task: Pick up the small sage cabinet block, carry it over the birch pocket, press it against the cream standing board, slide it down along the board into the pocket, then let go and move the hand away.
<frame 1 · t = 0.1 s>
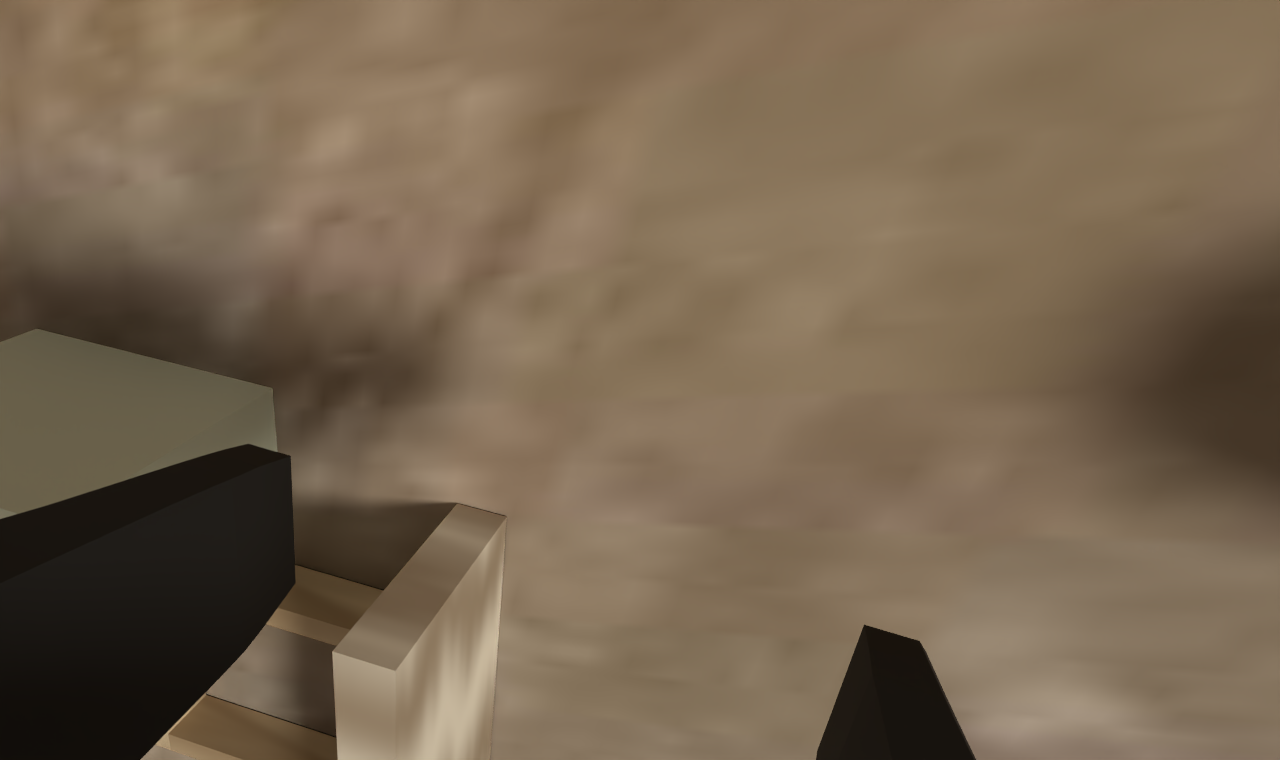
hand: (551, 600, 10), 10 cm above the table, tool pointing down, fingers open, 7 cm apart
wall board: (346, 674, 27), on the table
cabinet block: (162, 422, 24), on the table
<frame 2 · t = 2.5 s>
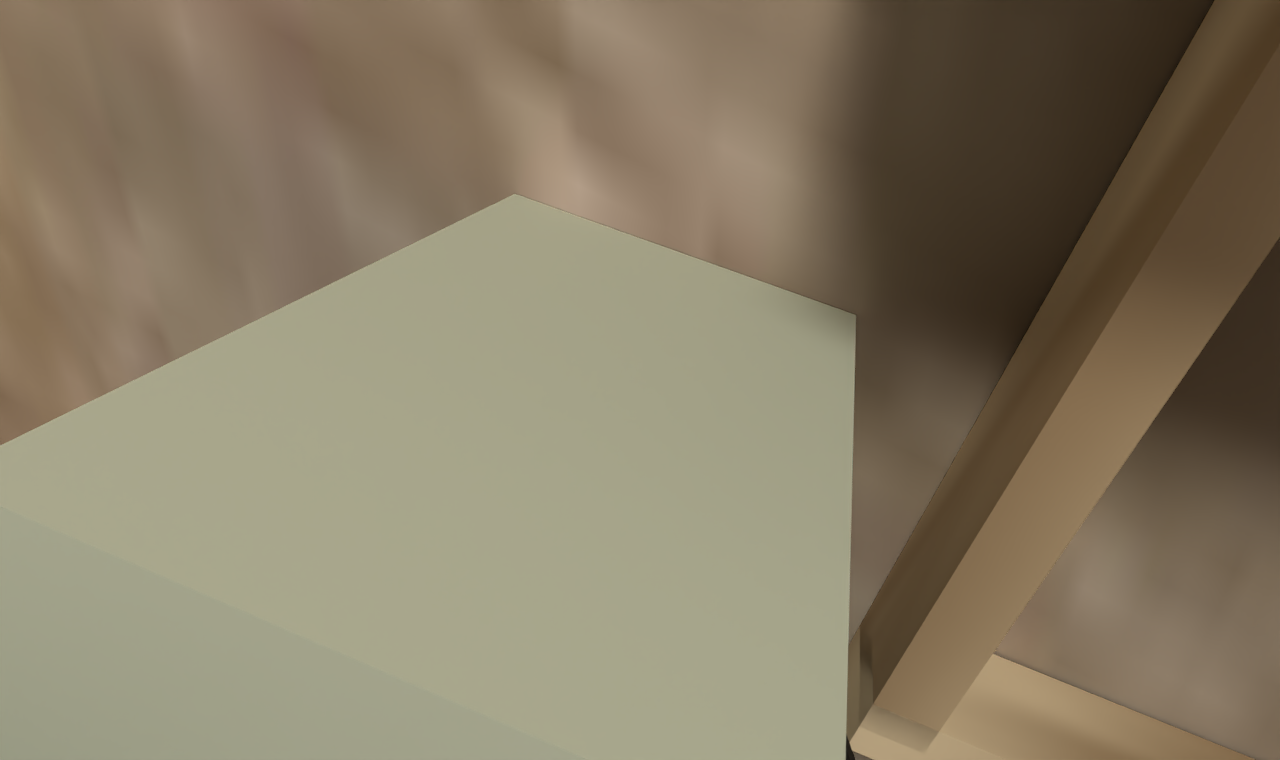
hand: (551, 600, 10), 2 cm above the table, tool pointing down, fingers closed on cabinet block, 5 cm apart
cabinet block: (600, 510, 11), on the table, touching gripper
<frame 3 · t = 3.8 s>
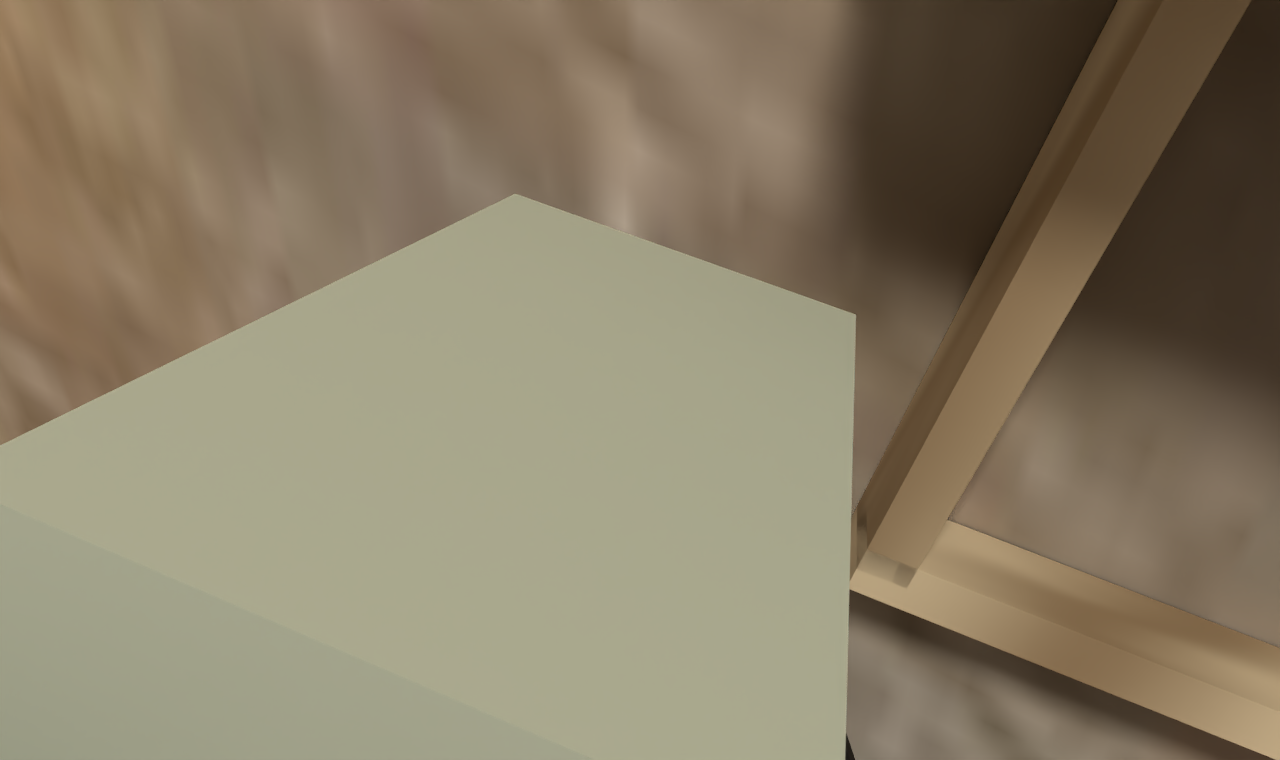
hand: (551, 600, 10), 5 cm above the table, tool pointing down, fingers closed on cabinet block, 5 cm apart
cabinet block: (600, 509, 12), point 3 cm above the table, touching gripper
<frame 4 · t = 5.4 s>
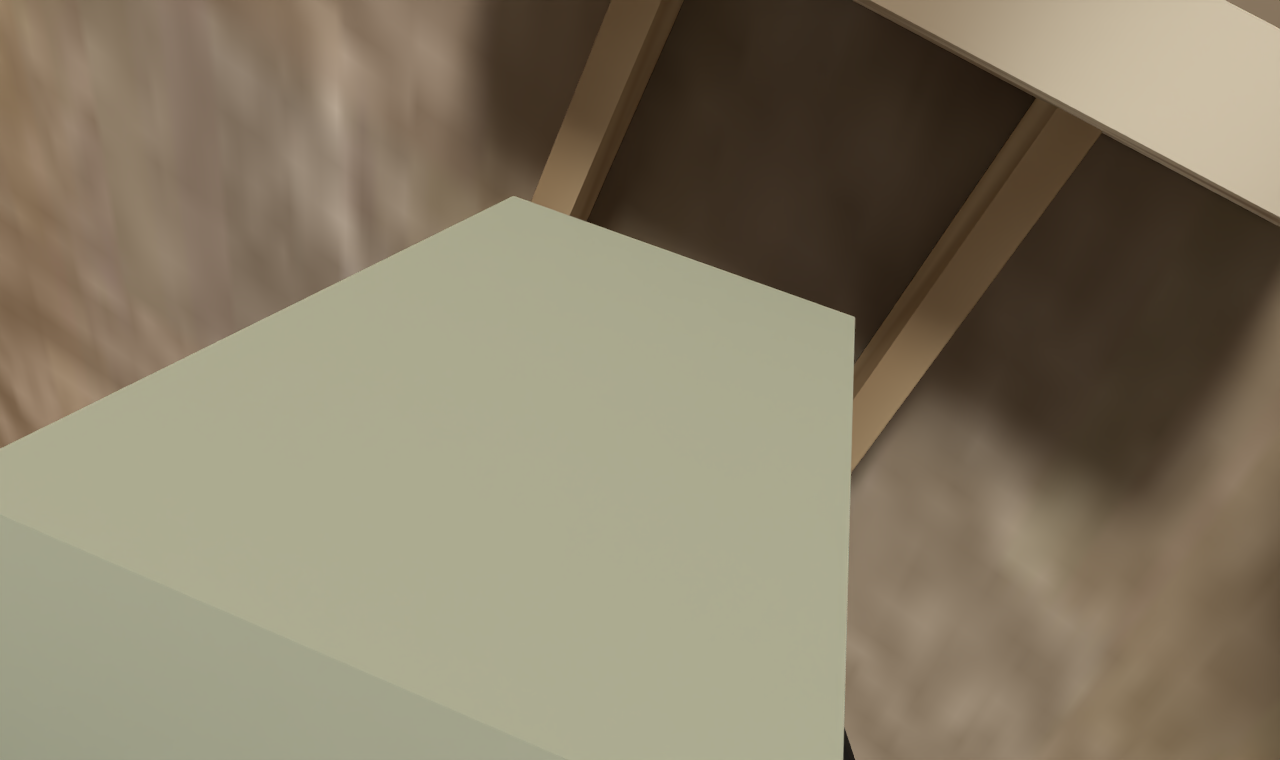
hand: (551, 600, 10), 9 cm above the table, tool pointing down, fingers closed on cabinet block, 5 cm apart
wall board: (772, 197, 16), on the table
cabinet block: (599, 512, 11), point 7 cm above the table, touching gripper
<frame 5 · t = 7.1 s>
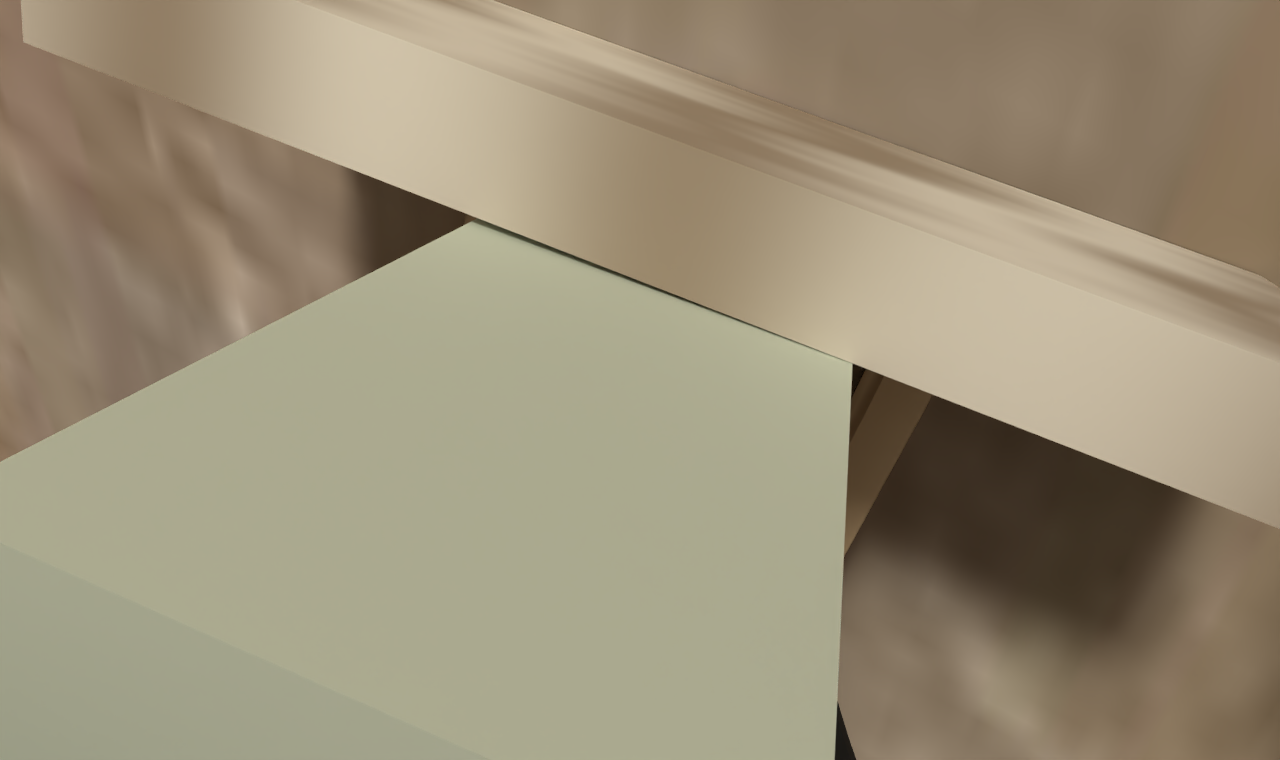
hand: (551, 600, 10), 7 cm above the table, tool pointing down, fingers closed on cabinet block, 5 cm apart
wall board: (674, 372, 16), on the table
cabinet block: (597, 516, 11), point 5 cm above the table, touching gripper, wall board
when the fingers open (3 cm above the table, at t = 8.3 s): cabinet block drops 1 cm, resting in wall board.
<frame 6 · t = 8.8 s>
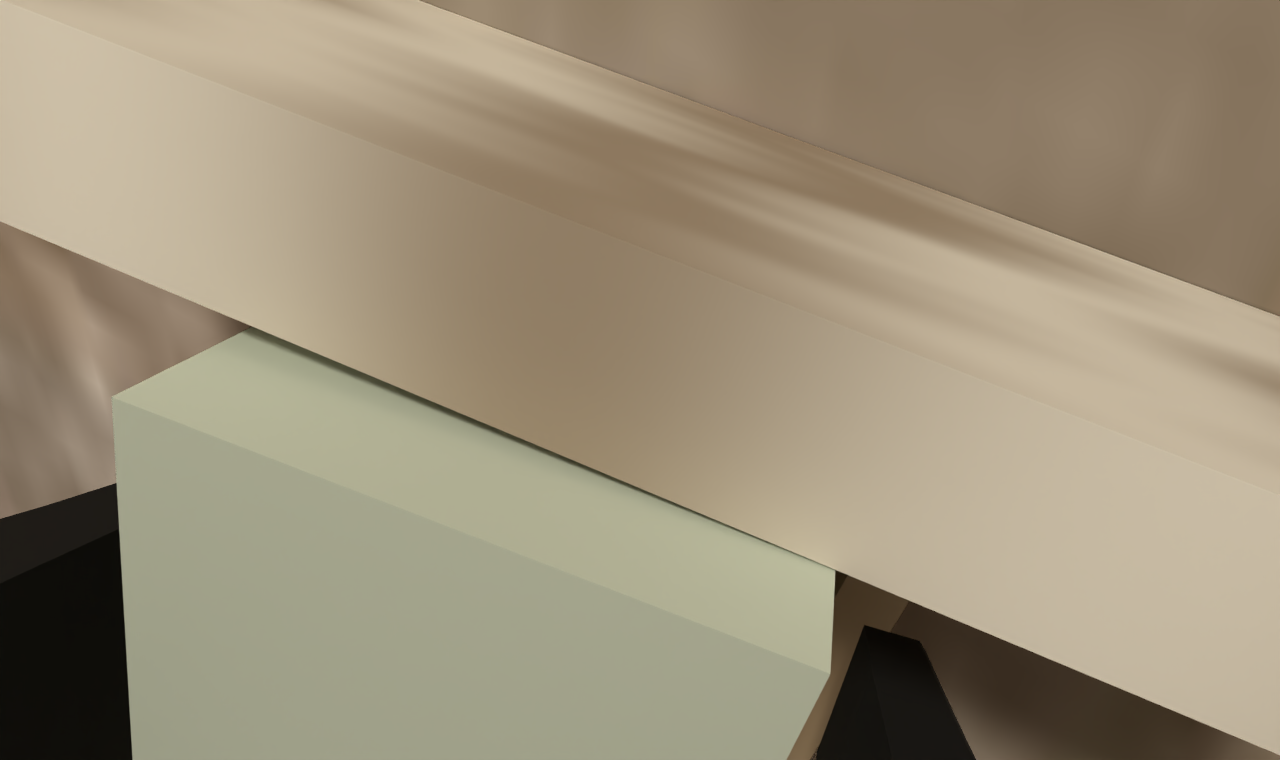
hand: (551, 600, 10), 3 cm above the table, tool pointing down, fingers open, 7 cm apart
wall board: (624, 460, 12), on the table
cabinet block: (618, 475, 12), resting in wall board
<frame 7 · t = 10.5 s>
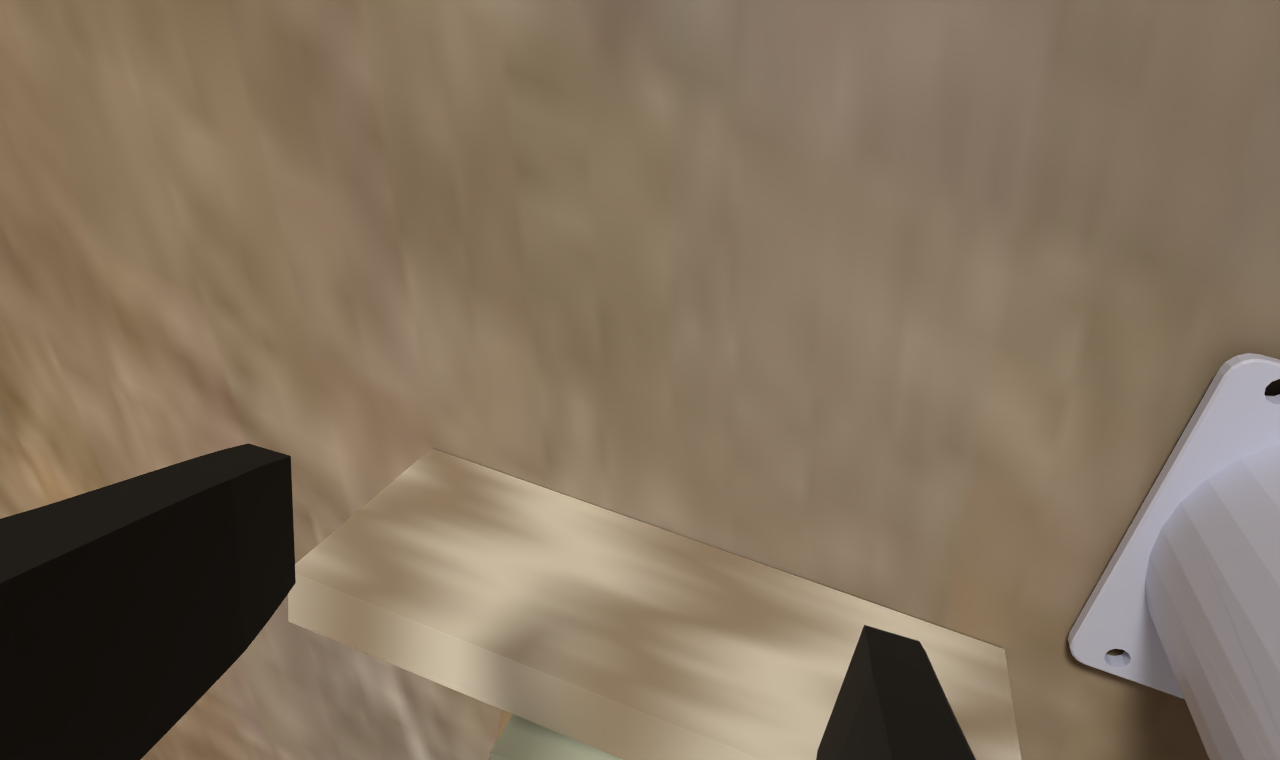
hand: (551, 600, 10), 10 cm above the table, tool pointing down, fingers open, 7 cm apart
wall board: (658, 682, 24), on the table
cabinet block: (656, 688, 24), resting in wall board
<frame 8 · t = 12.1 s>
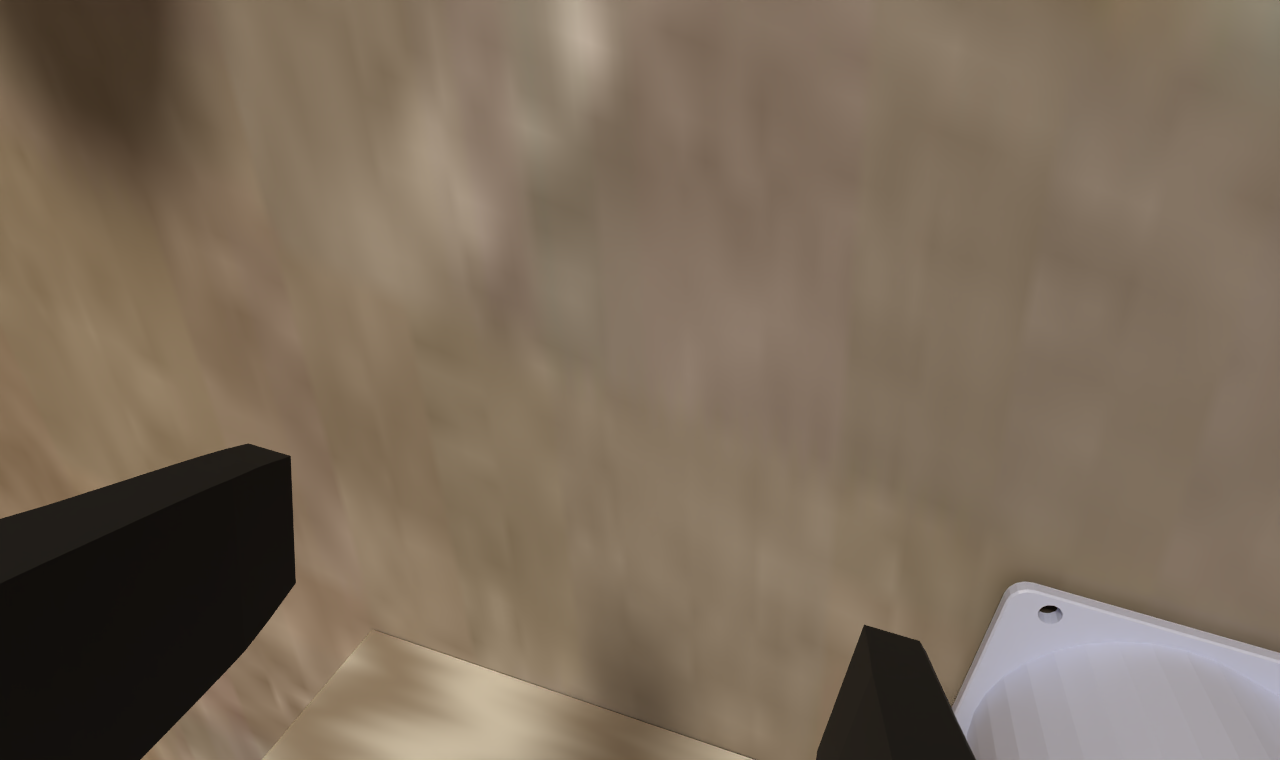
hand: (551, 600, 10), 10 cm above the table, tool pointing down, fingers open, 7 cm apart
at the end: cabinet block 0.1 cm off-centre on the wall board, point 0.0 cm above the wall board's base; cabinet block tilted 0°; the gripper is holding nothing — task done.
